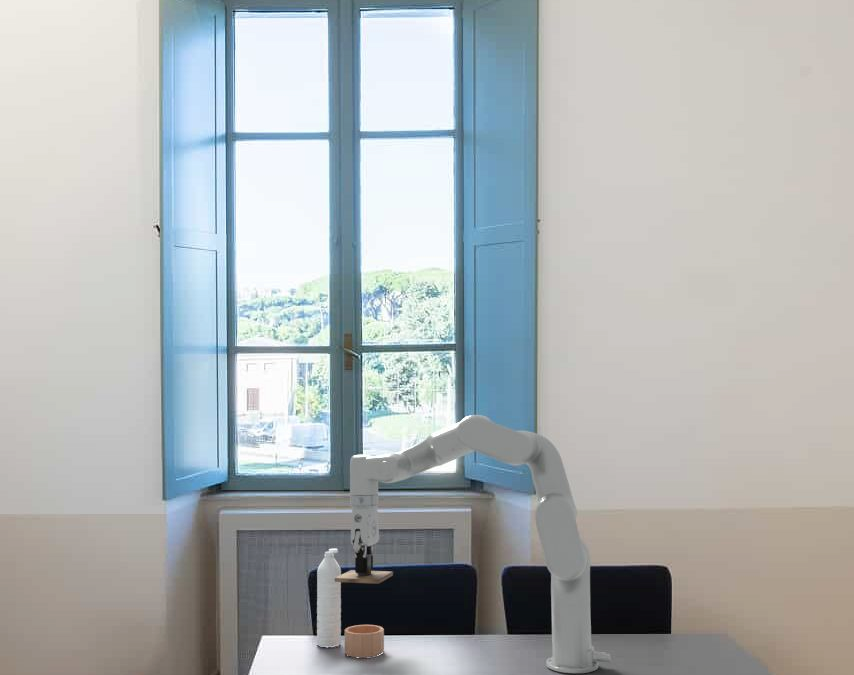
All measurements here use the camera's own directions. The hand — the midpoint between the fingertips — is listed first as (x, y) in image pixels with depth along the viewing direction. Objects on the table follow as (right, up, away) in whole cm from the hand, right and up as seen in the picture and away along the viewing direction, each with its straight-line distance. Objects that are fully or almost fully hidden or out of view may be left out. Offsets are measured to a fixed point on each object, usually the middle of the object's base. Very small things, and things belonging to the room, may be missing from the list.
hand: (364, 570), depth 222 cm
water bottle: (-10, -22, +7) cm, 25 cm away
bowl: (0, -21, -2) cm, 21 cm away
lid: (0, -2, 0) cm, 2 cm away
